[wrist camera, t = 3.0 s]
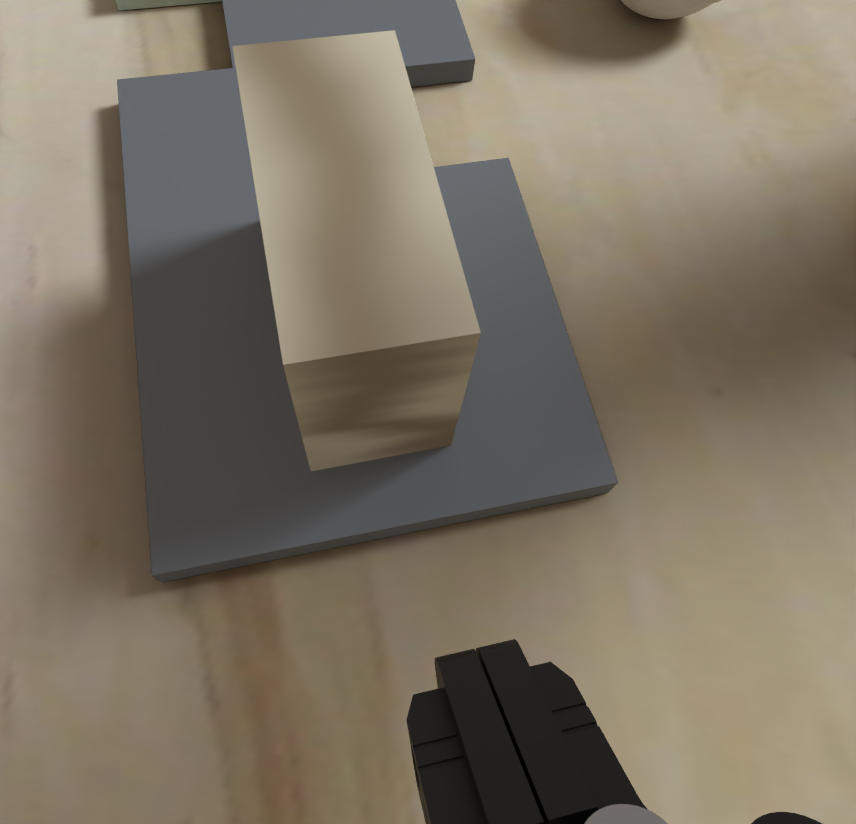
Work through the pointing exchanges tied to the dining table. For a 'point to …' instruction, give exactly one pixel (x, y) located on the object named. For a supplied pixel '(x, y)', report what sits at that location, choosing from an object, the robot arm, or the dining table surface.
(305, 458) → the board
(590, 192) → the dining table surface
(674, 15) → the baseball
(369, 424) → the birch block
